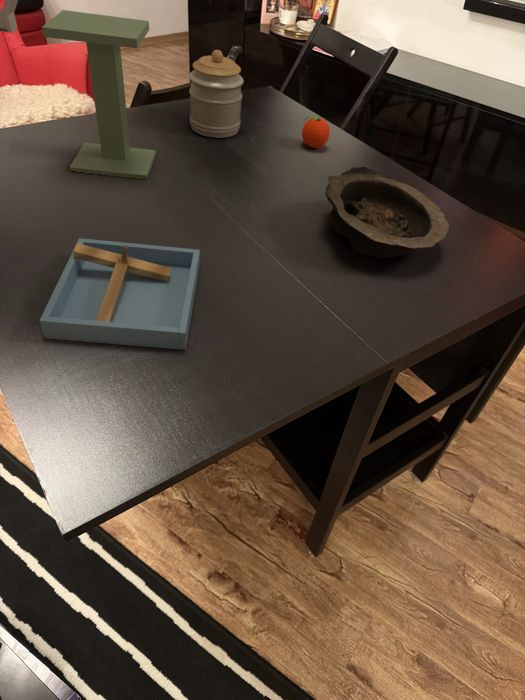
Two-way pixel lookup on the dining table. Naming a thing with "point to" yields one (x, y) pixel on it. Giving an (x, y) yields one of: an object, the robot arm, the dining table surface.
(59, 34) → the green pedestal stand
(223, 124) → the jar
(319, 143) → the clementine
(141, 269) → the wooden t-shaped piece
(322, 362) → the dining table surface
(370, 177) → the stone bowl
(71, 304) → the tray
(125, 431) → the dining table surface
